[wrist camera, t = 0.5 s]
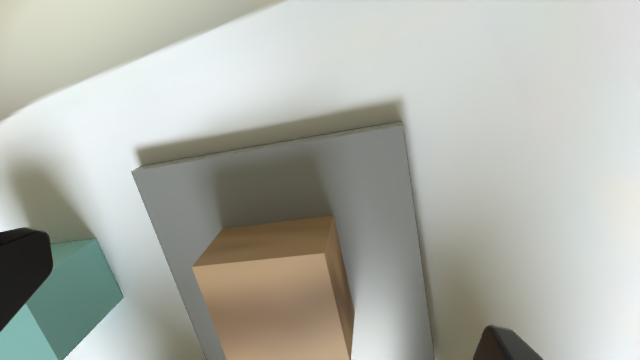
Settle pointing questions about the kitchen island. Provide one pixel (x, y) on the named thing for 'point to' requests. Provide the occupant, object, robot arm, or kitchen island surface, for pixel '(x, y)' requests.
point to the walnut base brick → (279, 291)
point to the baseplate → (302, 203)
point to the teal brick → (63, 305)
